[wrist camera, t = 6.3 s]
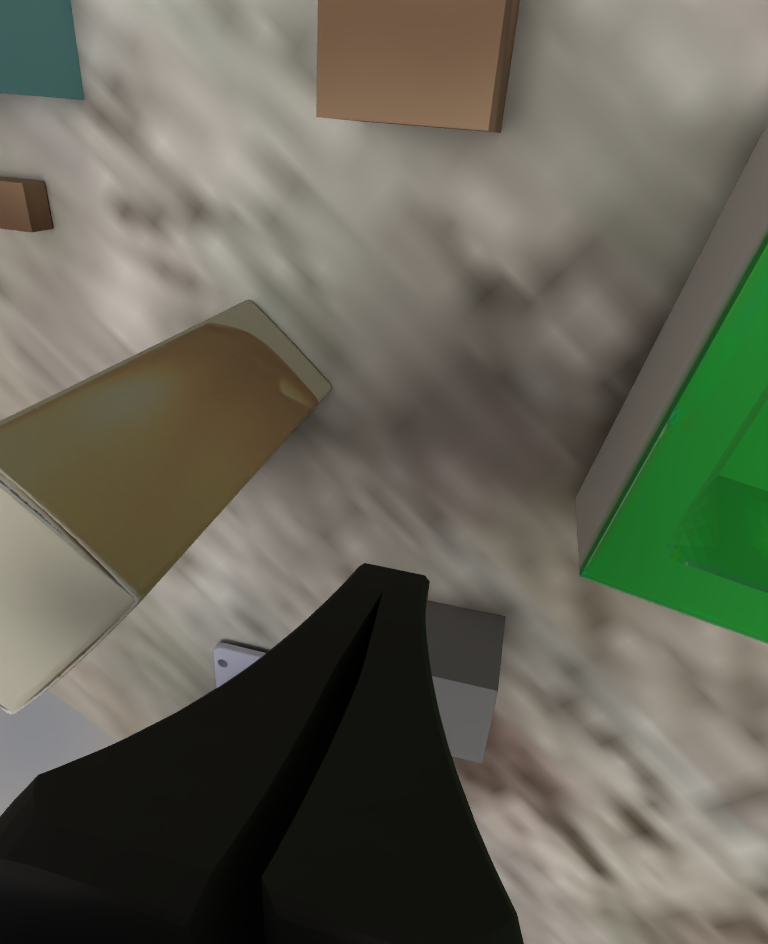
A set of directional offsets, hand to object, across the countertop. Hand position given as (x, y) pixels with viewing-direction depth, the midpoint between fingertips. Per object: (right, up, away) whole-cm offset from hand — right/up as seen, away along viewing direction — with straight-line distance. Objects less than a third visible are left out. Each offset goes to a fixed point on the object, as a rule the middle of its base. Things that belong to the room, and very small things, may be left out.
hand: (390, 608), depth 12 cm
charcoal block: (+3, -5, +14) cm, 15 cm away
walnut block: (+1, +14, +4) cm, 15 cm away
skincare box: (-5, +6, +11) cm, 13 cm away
